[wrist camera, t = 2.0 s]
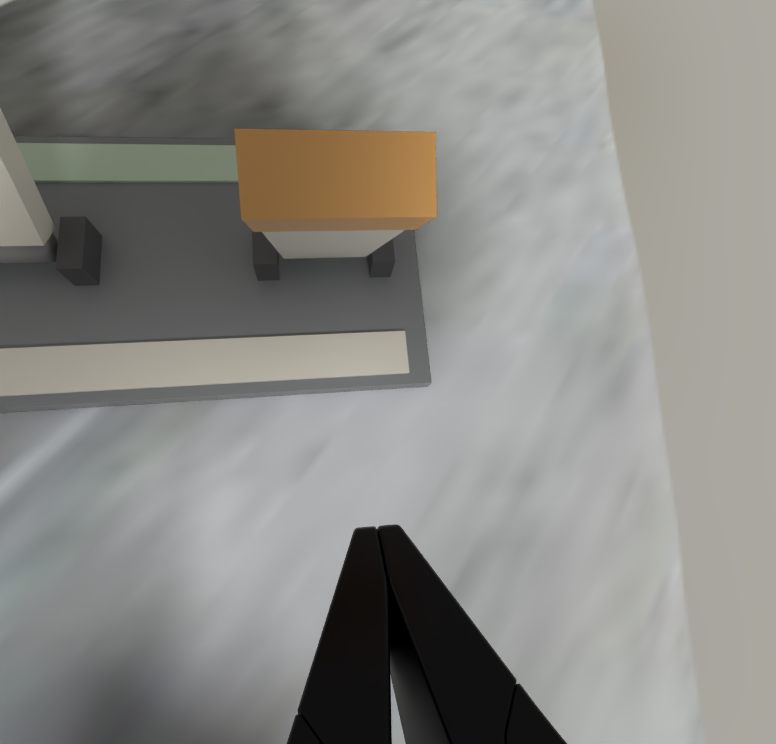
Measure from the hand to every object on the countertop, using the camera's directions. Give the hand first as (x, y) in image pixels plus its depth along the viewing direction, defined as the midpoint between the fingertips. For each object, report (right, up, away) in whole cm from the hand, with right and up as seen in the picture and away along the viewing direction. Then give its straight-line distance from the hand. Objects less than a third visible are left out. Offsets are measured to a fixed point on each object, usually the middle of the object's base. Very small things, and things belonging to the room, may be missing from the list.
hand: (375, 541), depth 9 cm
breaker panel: (-9, +8, +14) cm, 19 cm away
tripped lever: (-3, +9, +13) cm, 16 cm away
